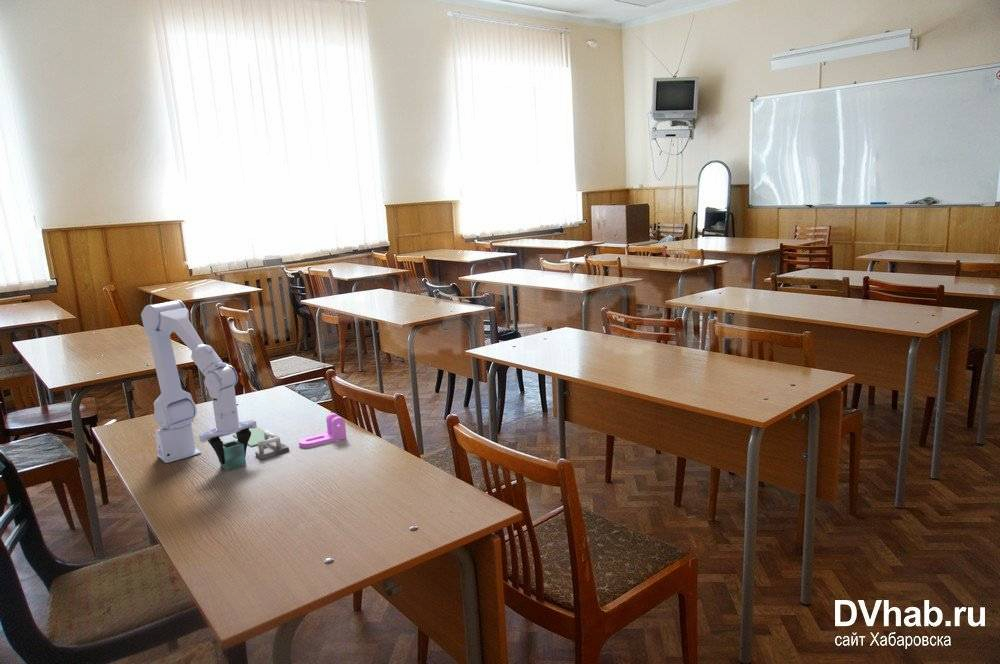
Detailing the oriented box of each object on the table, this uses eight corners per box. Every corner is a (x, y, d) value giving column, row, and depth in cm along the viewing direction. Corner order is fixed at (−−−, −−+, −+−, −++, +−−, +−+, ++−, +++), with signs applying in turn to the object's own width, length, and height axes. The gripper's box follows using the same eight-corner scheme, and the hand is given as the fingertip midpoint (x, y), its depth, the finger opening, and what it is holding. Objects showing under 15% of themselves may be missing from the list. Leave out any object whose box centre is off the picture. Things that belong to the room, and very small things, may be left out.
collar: (227, 470, 177) (224, 449, 176) (220, 465, 181) (217, 444, 179) (246, 465, 180) (243, 444, 179) (239, 460, 184) (236, 439, 183)
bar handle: (261, 459, 183) (259, 444, 183) (245, 449, 192) (243, 434, 191) (289, 451, 189) (287, 436, 188) (271, 441, 197) (270, 427, 196)
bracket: (340, 433, 201) (337, 411, 200) (346, 439, 196) (344, 416, 195) (297, 444, 194) (294, 421, 193) (302, 449, 190) (299, 426, 188)
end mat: (251, 446, 194) (251, 445, 193) (232, 435, 204) (232, 434, 204) (277, 439, 199) (277, 437, 199) (258, 428, 209) (258, 427, 209)
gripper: (203, 422, 170) (210, 472, 172) (258, 408, 179) (264, 455, 182) (193, 416, 175) (201, 465, 178) (248, 402, 184) (254, 449, 187)
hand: (232, 459), depth 180 cm, fingers closed on collar, 5 cm apart
